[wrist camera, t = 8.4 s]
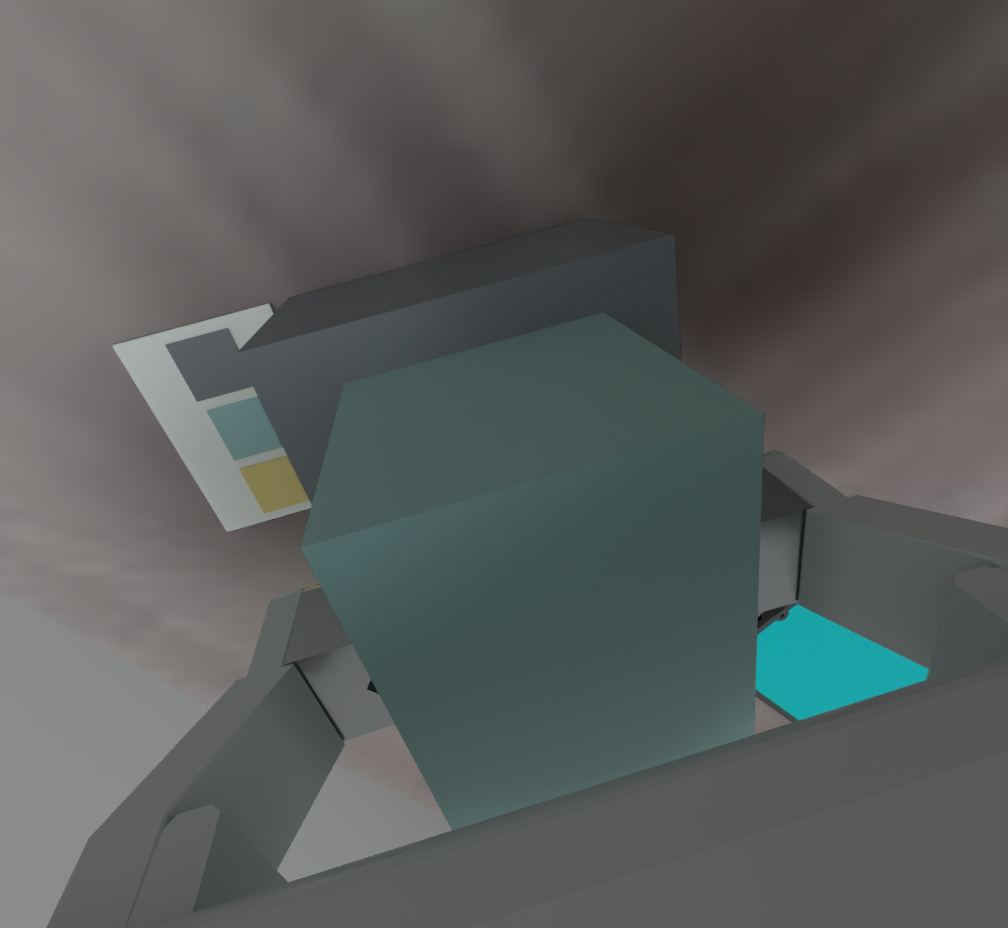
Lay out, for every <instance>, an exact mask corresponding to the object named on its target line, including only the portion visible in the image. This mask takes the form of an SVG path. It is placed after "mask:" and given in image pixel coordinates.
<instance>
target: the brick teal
mask: <svg viewBox="0 0 1008 928" xmlns="http://www.w3.org/2000/svg"><path fill="white" fill-rule="evenodd" d="M763 430H764V414H763V413H762V412H760V411H758V410H757V409H755V408H754V407H752V406H751V405H749V404H747V403H746V402H744V401H743V400H741V399H740V398H738V397H736V396H735V395H733V394H732V393H730V392H729V391H727V390H725V389H724V388H722V387H721V386H719V385H718V384H716V383H714V382H713V381H711V380H710V379H708V378H706V377H705V376H703V375H702V374H700V373H699V372H697V371H695V370H694V369H692V368H691V367H689V366H688V365H686V364H684V363H683V362H681V361H680V360H678V359H677V358H675V357H673V356H672V355H670V354H669V353H667V352H666V351H664V350H662V349H661V348H659V347H658V346H656V345H654V344H653V343H651V342H650V341H648V340H647V339H645V338H643V337H642V336H640V335H639V334H637V333H636V332H634V331H632V330H631V329H629V328H628V327H626V326H625V325H623V324H621V323H620V322H618V321H617V320H615V319H614V318H612V317H610V316H609V315H607V314H606V313H604V312H603V313H599V314H595V315H592V316H588V317H584V318H581V319H577V320H574V321H570V322H566V323H563V324H559V325H555V326H552V327H548V328H545V329H541V330H537V331H534V332H530V333H526V334H523V335H519V336H516V337H512V338H508V339H505V340H501V341H497V342H494V343H490V344H487V345H483V346H479V347H476V348H472V349H468V350H465V351H461V352H458V353H454V354H450V355H447V356H443V357H439V358H436V359H432V360H429V361H425V362H421V363H418V364H414V365H410V366H407V367H403V368H400V369H396V370H392V371H389V372H385V373H381V374H378V375H374V376H370V377H367V378H363V379H360V380H356V381H352V382H349V383H345V384H344V387H343V391H342V395H341V398H340V402H339V406H338V409H337V413H336V417H335V420H334V424H333V428H332V432H331V435H330V439H329V443H328V446H327V450H326V454H325V458H324V461H323V465H322V469H321V472H320V476H319V480H318V484H317V487H316V491H315V495H314V498H313V502H312V506H311V510H310V513H309V517H308V521H307V524H306V528H305V532H304V536H303V539H302V543H301V547H300V549H301V551H302V552H303V554H304V556H305V558H306V560H307V562H308V564H309V565H310V567H311V569H312V571H313V573H314V575H315V577H316V578H317V580H318V582H319V584H320V586H321V588H322V590H323V591H324V593H325V595H326V597H327V599H328V601H329V602H330V604H331V606H332V608H333V610H334V612H335V614H336V615H337V617H338V619H339V621H340V623H341V625H342V627H343V628H344V630H345V632H346V634H347V636H348V638H349V640H350V641H351V643H352V645H353V647H354V649H355V651H356V653H357V654H358V656H359V658H360V660H361V662H362V664H363V666H364V667H365V669H366V671H367V673H368V675H369V677H370V679H371V680H372V682H373V684H374V686H375V688H376V690H377V692H378V693H379V695H380V697H381V699H382V701H383V703H384V705H385V706H386V708H387V710H388V712H389V714H390V716H391V718H392V719H393V721H394V723H395V725H396V727H397V729H398V731H399V732H400V734H401V736H402V738H403V740H404V742H405V744H406V745H407V747H408V749H409V751H410V753H411V755H412V757H413V758H414V760H415V762H416V764H417V766H418V768H419V770H420V771H421V773H422V775H423V777H424V779H425V781H426V782H427V784H428V786H429V788H430V790H431V792H432V794H433V795H434V797H435V799H436V801H437V803H438V805H439V807H440V808H441V810H442V812H443V814H444V816H445V818H446V820H447V821H448V823H449V825H450V827H451V829H452V830H456V829H459V828H462V827H465V826H468V825H471V824H474V823H478V822H481V821H484V820H487V819H490V818H493V817H497V816H500V815H503V814H506V813H509V812H512V811H516V810H519V809H522V808H525V807H528V806H531V805H535V804H538V803H541V802H544V801H547V800H550V799H554V798H557V797H560V796H563V795H566V794H569V793H573V792H576V791H579V790H582V789H585V788H588V787H591V786H595V785H598V784H601V783H604V782H607V781H610V780H614V779H617V778H620V777H623V776H626V775H629V774H633V773H636V772H639V771H642V770H645V769H648V768H652V767H655V766H658V765H661V764H664V763H667V762H671V761H674V760H677V759H680V758H683V757H686V756H689V755H693V754H696V753H699V752H702V751H705V750H708V749H711V748H715V747H718V746H721V745H724V744H727V743H730V742H733V741H737V740H740V739H743V738H746V737H749V736H752V735H754V722H755V689H756V657H757V624H758V592H759V560H760V527H761V495H762V462H763Z"/></svg>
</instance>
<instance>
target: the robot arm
mask: <svg viewBox="0 0 1008 928" xmlns="http://www.w3.org/2000/svg"><path fill="white" fill-rule="evenodd" d="M796 602H798V605H800V606H802V607H804V608H806V609H808V610H810V611H812V612H814V613H816V614H818V615H820V616H822V617H824V618H826V619H828V620H830V621H832V622H834V623H836V624H838V625H840V626H842V627H844V628H846V629H848V630H850V631H852V632H854V633H856V634H858V635H860V636H862V637H864V638H866V639H868V640H870V641H872V642H874V643H876V644H878V645H881V646H883V647H885V648H887V649H889V650H891V651H893V652H895V653H897V654H899V655H901V656H903V657H905V658H907V659H909V660H911V661H913V662H915V663H917V664H919V665H921V666H923V667H925V668H927V669H928V672H927V676H926V680H925V681H922V682H918V683H915V684H912V685H909V686H906V687H903V688H900V689H896V690H893V691H890V692H887V693H884V694H881V695H878V696H875V697H871V698H868V699H865V700H862V701H859V702H856V703H853V704H849V705H846V706H843V707H840V708H837V709H834V710H831V711H827V712H824V713H821V714H818V715H815V716H812V717H809V718H806V719H802V720H799V721H796V722H793V723H790V724H787V725H784V726H780V727H777V728H774V729H771V730H768V731H765V732H762V733H758V734H755V735H752V736H749V737H746V738H743V739H740V740H737V741H733V742H730V743H727V744H724V745H721V746H718V747H715V748H711V749H708V750H705V751H702V752H699V753H696V754H693V755H689V756H686V757H683V758H680V759H677V760H674V761H671V762H667V763H664V764H661V765H658V766H655V767H652V768H648V769H645V770H642V771H639V772H636V773H633V774H629V775H626V776H623V777H620V778H617V779H614V780H610V781H607V782H604V783H601V784H598V785H595V786H591V787H588V788H585V789H582V790H579V791H576V792H573V793H569V794H566V795H563V796H560V797H557V798H554V799H550V800H547V801H544V802H541V803H538V804H535V805H531V806H528V807H525V808H522V809H519V810H516V811H512V812H509V813H506V814H503V815H500V816H497V817H493V818H490V819H487V820H484V821H481V822H478V823H474V824H471V825H468V826H465V827H462V828H459V829H456V830H452V831H450V832H446V833H443V834H440V835H437V836H434V837H430V838H427V839H424V840H421V841H418V842H415V843H411V844H408V845H405V846H402V847H399V848H396V849H393V850H390V851H386V852H383V853H380V854H377V855H374V856H370V857H367V858H364V859H361V860H358V861H355V862H352V863H348V864H345V865H342V866H340V867H336V868H333V869H329V870H327V871H323V872H320V873H317V874H314V875H311V876H308V877H305V878H301V879H298V880H295V881H292V882H287V881H286V880H285V879H284V878H283V877H282V875H280V873H278V871H277V869H278V867H279V865H280V863H281V861H282V860H283V858H284V856H285V854H286V852H287V850H288V848H289V847H290V845H291V843H292V841H293V839H294V837H295V835H296V834H297V832H298V830H299V828H300V826H301V824H302V823H303V820H304V819H305V817H306V815H307V813H308V811H309V810H310V808H311V806H312V804H313V802H314V800H315V799H316V797H317V795H318V793H319V791H320V789H321V788H322V786H323V784H324V782H325V780H326V778H327V776H328V774H329V773H330V771H331V769H332V767H333V765H334V764H335V762H336V760H337V758H338V756H339V754H340V752H341V751H342V749H343V747H344V745H345V744H344V742H343V741H346V740H349V739H352V738H355V737H358V736H361V735H364V734H367V733H370V732H373V731H376V730H379V729H382V728H385V727H388V726H391V725H394V724H395V723H394V721H393V719H392V718H391V716H390V714H389V712H388V710H387V708H386V706H385V705H384V703H383V701H382V699H381V697H380V695H379V693H378V692H377V690H376V688H375V686H374V684H373V682H372V680H371V679H370V677H369V675H368V673H367V671H366V669H365V667H364V666H363V664H362V662H361V660H360V658H359V656H358V654H357V653H356V651H355V649H354V647H353V645H352V643H351V641H350V640H349V638H348V636H347V634H346V632H345V630H344V628H343V627H342V625H341V623H340V621H339V619H338V617H337V615H336V614H335V612H334V610H333V608H332V606H331V604H330V602H329V601H328V599H327V597H326V595H325V593H324V591H323V590H322V588H321V586H320V584H317V585H313V586H310V587H306V588H305V589H299V590H296V591H292V592H289V593H285V594H282V595H278V596H276V597H275V598H274V599H272V600H271V602H270V604H269V607H268V610H267V613H266V616H265V620H264V623H263V626H262V629H261V633H260V636H259V639H258V642H257V645H256V649H255V652H254V655H253V658H252V661H251V665H250V668H249V671H248V674H247V677H246V678H243V679H239V680H237V681H236V682H235V683H234V684H233V685H232V686H231V687H230V688H229V689H228V690H227V691H226V692H225V693H224V694H223V696H222V697H221V698H220V699H219V700H218V701H217V702H216V703H215V704H214V705H213V706H212V707H211V708H210V709H209V710H208V712H207V713H206V714H205V715H204V716H203V717H202V718H201V719H200V720H199V721H198V722H197V723H196V725H194V726H193V728H192V729H191V730H190V731H189V732H188V733H187V734H186V735H185V736H184V737H183V738H182V739H181V741H179V743H178V744H177V745H176V746H175V747H174V748H173V749H172V750H171V751H170V752H169V753H168V754H167V755H166V756H165V757H164V759H163V760H162V761H161V762H160V763H159V764H158V765H157V766H156V767H155V768H154V769H153V770H152V771H151V772H150V774H149V775H148V776H147V777H146V778H145V779H144V780H143V781H142V782H141V783H140V784H139V785H138V786H137V787H136V788H135V790H134V791H133V792H132V793H131V794H130V795H129V796H128V797H127V798H126V799H125V800H124V802H122V803H121V805H120V806H119V807H118V808H117V809H116V810H115V811H114V812H113V813H112V814H111V815H110V816H109V817H108V818H107V820H106V821H105V822H104V823H103V824H102V825H101V826H100V827H99V828H98V829H97V830H96V831H95V832H94V833H93V834H92V836H91V837H90V838H89V839H88V841H87V844H86V846H85V848H84V850H83V852H82V854H81V856H80V858H79V860H78V862H77V865H76V867H75V869H74V871H73V873H72V875H71V877H70V879H69V882H68V884H67V886H66V888H65V890H64V892H63V894H62V896H61V898H60V900H59V902H58V905H57V907H56V909H55V911H54V913H53V915H52V917H51V919H50V922H49V924H48V926H47V928H1008V528H1005V527H1000V526H996V525H991V524H987V523H982V522H978V521H973V520H969V519H964V518H960V517H955V516H950V515H946V514H941V513H937V512H932V511H928V510H923V509H919V508H914V507H910V506H905V505H901V504H896V503H892V502H887V501H883V500H878V499H874V498H869V497H864V496H860V495H856V496H852V497H849V498H848V497H846V496H845V495H844V494H842V493H841V492H839V491H838V490H836V489H835V488H834V487H832V486H831V485H829V484H828V483H826V482H825V481H824V480H822V479H821V478H819V477H818V476H816V475H815V474H813V473H812V472H811V471H809V470H808V469H806V468H805V467H803V466H802V465H801V464H799V463H798V462H796V461H795V460H793V459H792V458H791V457H789V456H788V455H786V454H785V453H783V452H781V451H776V450H773V451H770V452H767V453H764V454H763V462H762V495H761V527H760V560H759V592H758V613H760V612H764V611H768V610H771V609H775V608H778V607H782V606H786V605H789V604H793V603H796Z"/></svg>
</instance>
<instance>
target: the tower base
mask: <svg viewBox="0 0 1008 928" xmlns="http://www.w3.org/2000/svg"><path fill="white" fill-rule="evenodd" d="M603 312H604V313H606V314H607V315H609V316H610V317H612V318H614V319H615V320H617V321H618V322H620V323H621V324H623V325H625V326H626V327H628V328H629V329H631V330H632V331H634V332H636V333H637V334H639V335H640V336H642V337H643V338H645V339H647V340H648V341H650V342H651V343H653V344H654V345H656V346H658V347H659V348H661V349H662V350H664V351H666V352H667V353H669V354H670V355H672V356H673V357H675V358H677V359H678V360H680V361H681V343H680V325H679V306H678V288H677V269H676V251H675V234H670V233H664V232H659V231H654V230H648V229H643V228H638V227H633V226H627V225H622V224H617V223H611V222H606V221H601V220H596V219H590V218H586V219H582V220H578V221H574V222H571V223H567V224H563V225H559V226H556V227H552V228H548V229H544V230H541V231H537V232H533V233H529V234H526V235H522V236H518V237H515V238H511V239H507V240H503V241H500V242H496V243H492V244H488V245H485V246H481V247H477V248H473V249H470V250H466V251H462V252H458V253H455V254H451V255H447V256H443V257H440V258H436V259H432V260H428V261H425V262H421V263H417V264H413V265H410V266H406V267H402V268H398V269H395V270H391V271H387V272H383V273H380V274H376V275H372V276H369V277H365V278H361V279H357V280H354V281H350V282H346V283H342V284H339V285H335V286H331V287H327V288H324V289H320V290H316V291H312V292H309V293H305V294H301V295H297V296H294V297H290V298H288V299H287V300H286V301H285V302H284V303H283V304H282V306H281V307H280V308H279V309H278V310H277V311H276V312H275V313H274V314H273V315H272V316H271V317H270V318H269V319H268V320H267V321H266V322H265V323H264V324H263V326H262V327H261V328H260V329H259V330H258V331H257V332H256V333H255V334H254V335H253V336H252V337H251V338H250V339H249V340H248V341H247V342H246V343H245V344H244V346H243V347H242V348H241V349H240V350H239V351H238V352H237V355H238V357H239V359H240V361H241V363H242V365H243V368H244V370H245V372H246V374H247V376H248V378H249V380H250V382H251V384H252V386H253V388H254V390H255V392H256V394H257V396H258V398H259V400H260V402H261V404H262V406H263V408H264V410H265V412H266V414H267V416H268V418H269V420H270V422H271V424H272V426H273V428H274V430H275V432H276V434H277V436H278V438H279V440H280V442H281V444H282V446H283V448H284V450H285V452H286V454H287V456H288V458H289V460H290V462H291V464H292V466H293V468H294V470H295V472H296V474H297V476H298V478H299V480H300V482H301V484H302V486H303V488H304V490H305V492H306V494H307V496H308V498H309V500H310V502H311V504H312V502H313V498H314V495H315V491H316V487H317V484H318V480H319V476H320V472H321V469H322V465H323V461H324V458H325V454H326V450H327V446H328V443H329V439H330V435H331V432H332V428H333V424H334V420H335V417H336V413H337V409H338V406H339V402H340V398H341V395H342V391H343V387H344V384H345V383H349V382H352V381H356V380H360V379H363V378H367V377H370V376H374V375H378V374H381V373H385V372H389V371H392V370H396V369H400V368H403V367H407V366H410V365H414V364H418V363H421V362H425V361H429V360H432V359H436V358H439V357H443V356H447V355H450V354H454V353H458V352H461V351H465V350H468V349H472V348H476V347H479V346H483V345H487V344H490V343H494V342H497V341H501V340H505V339H508V338H512V337H516V336H519V335H523V334H526V333H530V332H534V331H537V330H541V329H545V328H548V327H552V326H555V325H559V324H563V323H566V322H570V321H574V320H577V319H581V318H584V317H588V316H592V315H595V314H599V313H603Z"/></svg>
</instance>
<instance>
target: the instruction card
mask: <svg viewBox="0 0 1008 928" xmlns="http://www.w3.org/2000/svg"><path fill="white" fill-rule="evenodd" d="M273 314H274V312H273V309H272V307H271V305H270V303H267V304H264V305H260V306H256V307H252V308H249V309H245V310H241V311H237V312H234V313H230V314H226V315H223V316H219V317H215V318H211V319H208V320H204V321H200V322H196V323H193V324H189V325H185V326H181V327H178V328H174V329H170V330H166V331H163V332H159V333H155V334H151V335H148V336H144V337H140V338H136V339H133V340H129V341H125V342H121V343H118V344H114V345H112V347H113V348H114V350H115V352H116V353H117V355H118V356H119V358H120V360H121V361H122V363H123V364H124V366H125V368H126V369H127V371H128V373H129V374H130V376H131V377H132V379H133V381H134V382H135V384H136V386H137V387H138V389H139V390H140V392H141V394H142V395H143V397H144V398H145V400H146V402H147V403H148V405H149V407H150V408H151V410H152V411H153V413H154V415H155V416H156V418H157V420H158V421H159V423H160V424H161V426H162V428H163V429H164V431H165V432H166V434H167V436H168V437H169V439H170V441H171V442H172V444H173V445H174V447H175V449H176V450H177V452H178V454H179V455H180V457H181V458H182V460H183V462H184V463H185V465H186V467H187V468H188V470H189V471H190V473H191V475H192V476H193V478H194V479H195V481H196V483H197V484H198V486H199V488H200V489H201V491H202V492H203V494H204V496H205V497H206V499H207V501H208V502H209V504H210V505H211V507H212V509H213V510H214V512H215V513H216V515H217V517H218V518H219V520H220V522H221V523H222V525H223V526H224V528H225V530H226V531H227V532H229V531H233V530H236V529H240V528H243V527H247V526H250V525H254V524H257V523H261V522H264V521H268V520H271V519H275V518H278V517H282V516H285V515H289V514H292V513H296V512H299V511H303V510H306V509H310V508H311V506H312V504H311V502H310V500H309V498H308V496H307V494H306V492H305V490H304V488H303V486H302V484H301V482H300V480H299V478H298V476H297V474H296V472H295V470H294V468H293V466H292V464H291V462H290V460H289V458H288V456H287V454H286V452H285V450H284V448H283V446H282V444H281V442H280V440H279V438H278V436H277V434H276V432H275V430H274V428H273V426H272V424H271V422H270V420H269V418H268V416H267V414H266V412H265V410H264V408H263V406H262V404H261V402H260V400H259V398H258V396H257V394H256V392H255V390H254V388H253V386H252V384H251V382H250V380H249V378H248V376H247V374H246V372H245V370H244V368H243V365H242V363H241V361H240V359H239V357H238V355H237V352H238V351H239V350H240V349H241V348H242V347H243V346H244V344H245V343H246V342H247V341H248V340H249V339H250V338H251V337H252V336H253V335H254V334H255V333H256V332H257V331H258V330H259V329H260V328H261V327H262V326H263V324H264V323H265V322H266V321H267V320H268V319H269V318H270V317H271V316H272V315H273Z"/></svg>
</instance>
